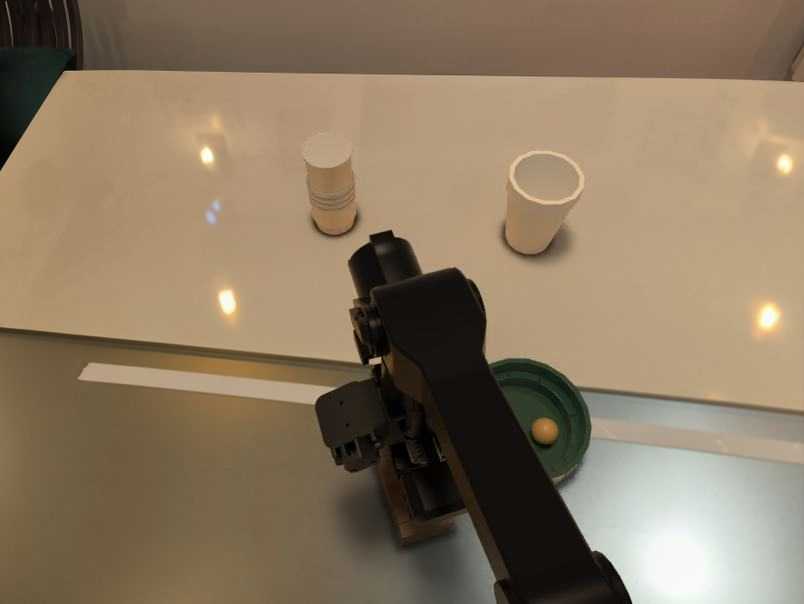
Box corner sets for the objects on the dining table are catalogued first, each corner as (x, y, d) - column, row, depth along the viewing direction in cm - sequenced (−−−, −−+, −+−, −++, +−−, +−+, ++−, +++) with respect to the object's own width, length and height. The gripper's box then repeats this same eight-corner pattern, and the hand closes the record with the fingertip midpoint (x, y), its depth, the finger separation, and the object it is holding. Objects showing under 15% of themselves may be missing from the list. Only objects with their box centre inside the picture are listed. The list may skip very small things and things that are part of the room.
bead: (559, 443, 71) (566, 435, 68) (536, 451, 71) (541, 442, 68) (548, 419, 73) (553, 410, 70) (524, 426, 72) (529, 417, 70)
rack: (451, 530, 67) (454, 522, 64) (401, 545, 66) (402, 538, 63) (408, 409, 75) (409, 397, 72) (363, 422, 74) (362, 410, 71)
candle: (363, 207, 94) (359, 136, 82) (348, 241, 90) (342, 173, 78) (322, 197, 96) (312, 126, 83) (306, 231, 92) (293, 162, 80)
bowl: (602, 471, 69) (615, 458, 65) (485, 507, 68) (492, 497, 64) (545, 362, 77) (554, 344, 73) (440, 392, 76) (443, 376, 72)
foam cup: (538, 274, 85) (560, 216, 74) (482, 241, 89) (495, 182, 78) (572, 231, 89) (597, 170, 78) (516, 202, 93) (533, 140, 82)
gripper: (293, 305, 53) (311, 377, 66) (352, 526, 42) (360, 561, 55) (414, 273, 54) (408, 350, 67) (501, 480, 44) (475, 524, 56)
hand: (410, 438), depth 61 cm, fingers closed
